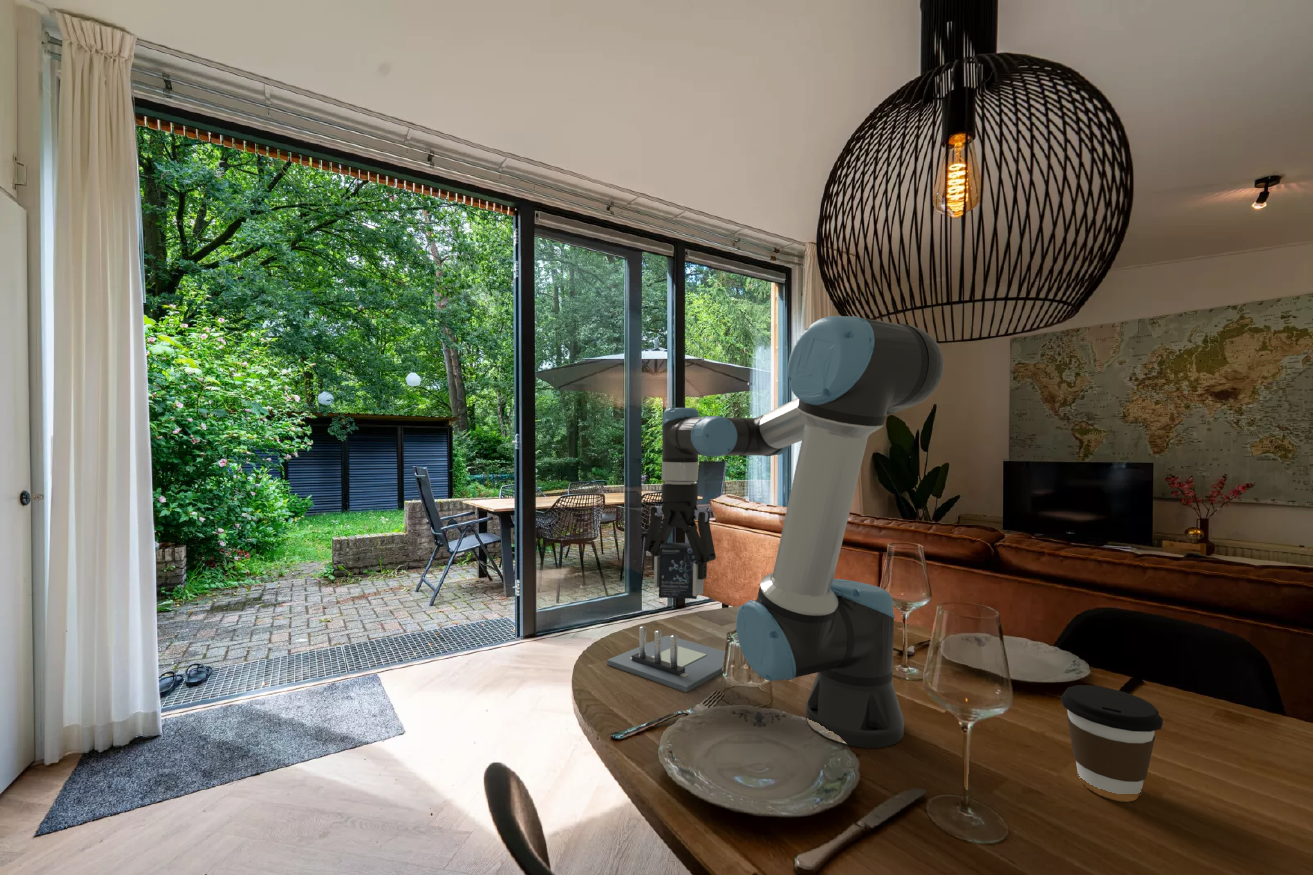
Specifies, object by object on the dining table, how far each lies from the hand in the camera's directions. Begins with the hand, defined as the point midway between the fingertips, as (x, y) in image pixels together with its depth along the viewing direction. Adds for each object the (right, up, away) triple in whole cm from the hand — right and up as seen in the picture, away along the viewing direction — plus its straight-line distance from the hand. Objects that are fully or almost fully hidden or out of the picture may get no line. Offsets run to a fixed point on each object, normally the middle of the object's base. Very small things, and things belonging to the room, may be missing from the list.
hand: (678, 590), depth 122 cm
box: (0, -1, 0) cm, 1 cm away
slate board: (-1, -15, 0) cm, 15 cm away
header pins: (-4, -14, -5) cm, 15 cm away
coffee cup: (+57, -16, -43) cm, 73 cm away
